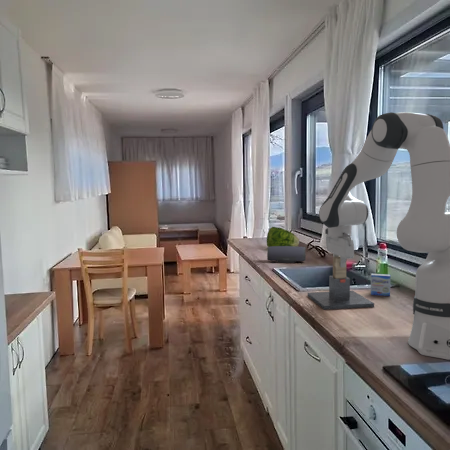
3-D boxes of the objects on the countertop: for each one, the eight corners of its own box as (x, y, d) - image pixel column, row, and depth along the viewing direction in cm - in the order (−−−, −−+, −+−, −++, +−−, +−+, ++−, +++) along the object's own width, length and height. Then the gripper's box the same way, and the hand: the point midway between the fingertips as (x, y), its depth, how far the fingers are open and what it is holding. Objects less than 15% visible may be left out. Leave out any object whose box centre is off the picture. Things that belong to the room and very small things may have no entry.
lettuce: (296, 258, 308) (302, 243, 296) (264, 253, 308) (269, 238, 296) (296, 241, 320) (301, 226, 308) (265, 236, 319) (269, 221, 307)
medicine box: (370, 295, 182) (370, 275, 182) (370, 292, 187) (370, 272, 186) (390, 296, 180) (390, 276, 179) (390, 293, 184) (390, 274, 183)
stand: (374, 307, 165) (374, 281, 164) (324, 309, 162) (324, 283, 161) (352, 293, 184) (352, 271, 184) (307, 296, 182) (307, 273, 181)
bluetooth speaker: (305, 261, 263) (305, 245, 262) (305, 264, 254) (305, 247, 253) (268, 260, 267) (268, 244, 266) (267, 263, 258) (267, 247, 257)
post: (346, 297, 171) (346, 258, 170) (336, 298, 171) (336, 258, 169) (342, 294, 175) (342, 256, 174) (332, 295, 175) (332, 256, 173)
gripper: (358, 234, 161) (358, 270, 162) (337, 228, 181) (337, 261, 182) (342, 234, 160) (342, 271, 161) (323, 229, 180) (323, 261, 182)
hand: (339, 265), depth 172 cm, fingers closed on post, 4 cm apart
